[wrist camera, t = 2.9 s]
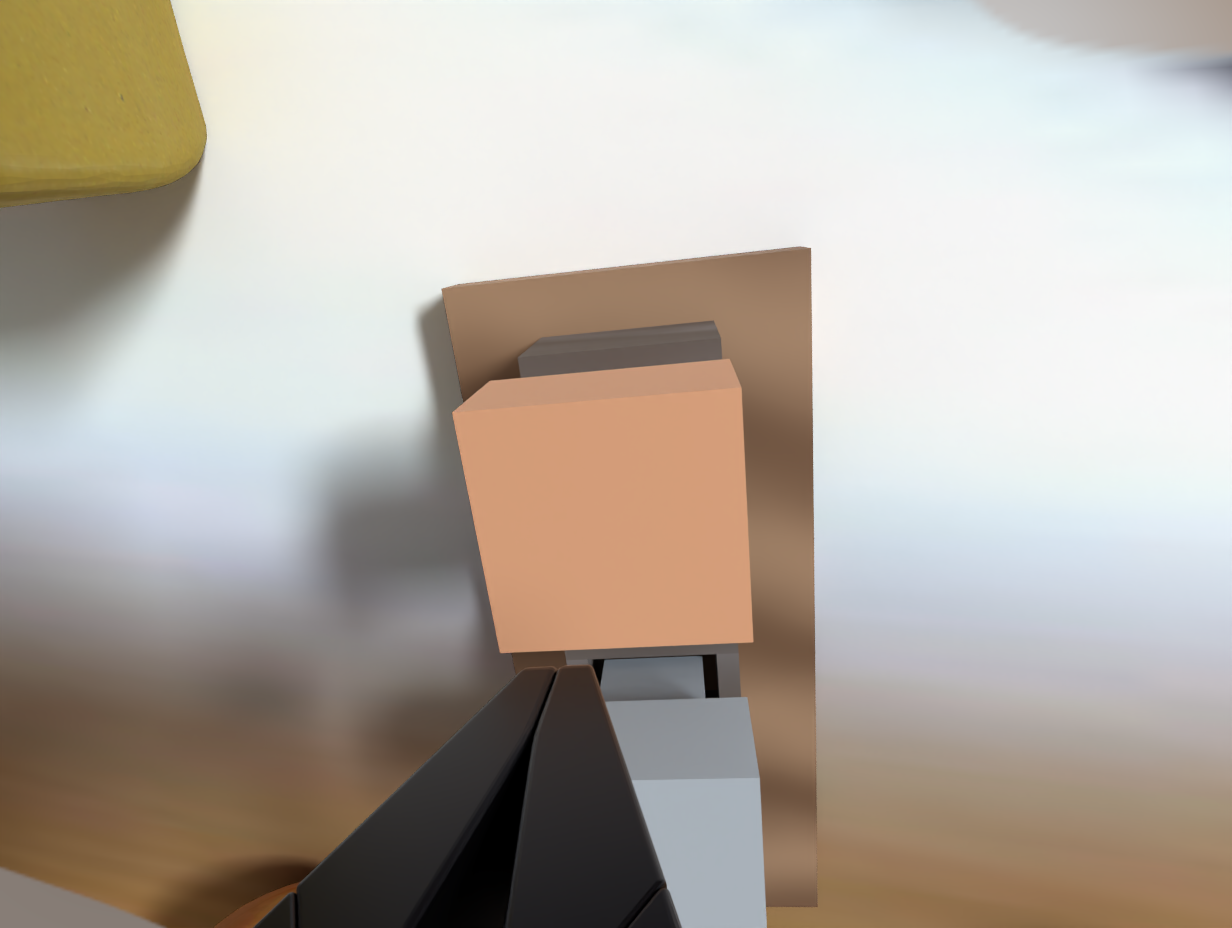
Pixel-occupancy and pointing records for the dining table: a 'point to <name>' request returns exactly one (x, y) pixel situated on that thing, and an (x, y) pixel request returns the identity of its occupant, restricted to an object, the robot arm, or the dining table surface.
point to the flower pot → (93, 100)
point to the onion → (255, 909)
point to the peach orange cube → (611, 507)
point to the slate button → (693, 786)
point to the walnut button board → (774, 464)
